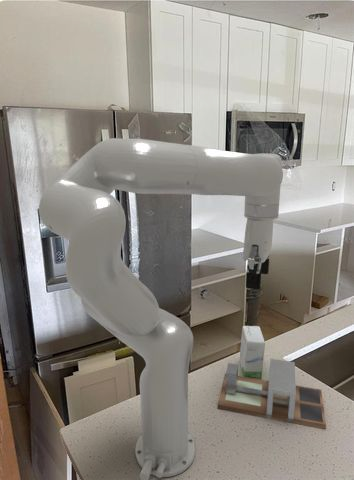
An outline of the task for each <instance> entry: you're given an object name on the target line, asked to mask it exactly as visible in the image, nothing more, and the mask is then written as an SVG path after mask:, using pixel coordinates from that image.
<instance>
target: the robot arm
mask: <svg viewBox="0 0 354 480" xmlns="http://www.w3.org/2000/svg"><path fill="white" fill-rule="evenodd" d="M283 178H284V170H283V160H282V157H281V156H280V155H279V154H275V153H265V152H264V153H244V152H236V151H230V150H228V151H227V150H223V149H217V148H212V147H206V146H199V145H191V144H183V143H175V142H166V141H160V140H153V139H145V138H116V137H114V138H112V137H111V138H107V139H104V140H102V141H100V142H98V143H97V144H96V145H94V146H93V147H92V148H90V149H89V150H88V151H87V152H85V154H83V155H82V156H81V157H80V158H78V160H76V161H75V163H73V164H72V165H71V166H70V167H69V168H68V169H67V170H65V172H63V173H62V174H61V175H60V176H59V177H57V178H56V180H54V181H53V182H52V183H51V184H50V185H49V186H47V188H46V190H45V191H44V193H43V194H42V196H41V198H40V201H39V204H38V214H39V217H40V220H41V223H42V224H43V225H44V226H45V228H46V229H48V231H50V232H51V233H53V234H56V235H57V236H59V237H62V238H64V239H65V240H68V246H67V250H66V255H65V256H66V257H65V276H66V280H67V282H68V285H69V286H70V288H71V290H72V291H73V292H74V293H75V294H76V295H77V296H78V297H79V298H80V300H81V305H82V308H83V309H84V310H85V312H86V313H87V315H89V316H90V317H91V318H93V319H94V320H95V321H96V322H97V323H98V324H100V326H102V327H103V328H105V330H107V331H108V332H109V333H111V334H112V335H113V336H114V337H115V338H117V339H118V341H120V342H121V343H123V344H124V345H126V346H127V347H128V348H130V349H132V350H133V351H134V352H135V353H137V354H138V355H139V356H140V357H142V358H143V361H144V362H145V367H144V368H143V370H142V372H141V374H140V377H139V395H140V397H139V398H140V399H139V400H140V416H141V417H140V419H141V434H140V435H139V437H138V439H137V440H136V443H135V450H134V452H135V459H136V462H137V463H138V465H139V467H140V468H141V471H140V473H139V475H138V476H139V479H140V480H149V479H150V476H151V475H152V476H154V477H157V478H158V479H161V478H169V477H170V478H171V477H174V476H177V475H179V474H181V473H183V472H184V471H186V470H187V469H188V468H189V467H190V466H191V465H192V463H193V462H194V460H195V456H196V442H195V440H194V438H193V436H192V434H191V433H190V432H189V367H190V361H191V356H192V351H193V347H194V335H193V332H192V330H191V328H190V326H188V325H187V324H186V323H185V321H184V320H182V319H181V318H179V317H177V316H176V315H174V314H172V313H170V312H169V311H166V310H165V309H162V308H161V307H159V302H158V301H157V300H158V299H156V297H155V295H154V293H153V292H152V291H151V290H150V289H149V288H148V287H147V286H146V285H145V283H144V284H143V282H142V281H141V280H140V279H139V278H138V277H137V276H136V275H135V274H134V273H133V272H132V271H131V270H130V269H129V267H128V266H127V264H126V263H125V262H124V261H123V259H122V256H121V255H122V253H121V251H122V245H123V242H124V241H123V240H124V237H125V232H126V225H127V224H126V223H127V220H126V214H125V210H124V208H123V205H122V204H121V203H120V201H119V200H118V199H117V198H116V197H115V196H113V195H112V193H113V192H114V191H115V190H117V191H123V192H128V193H131V194H132V193H133V194H142V195H143V194H144V195H163V194H164V195H198V196H234V197H235V196H237V197H240V196H241V197H244V210H243V211H244V215H243V216H244V218H246V224H245V232H244V238H243V239H244V242H243V254H242V260H243V261H244V262H247V266H246V274H245V275H246V276H245V277H246V278H245V288H246V289H251V290H257V291H259V290H260V289H261V283H262V275H268V274H269V270H270V269H269V268H270V254H271V250H272V245H273V234H274V233H273V230H274V220H277V219H279V210H280V198H281V197H280V196H281V185H282V182H283Z"/></svg>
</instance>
